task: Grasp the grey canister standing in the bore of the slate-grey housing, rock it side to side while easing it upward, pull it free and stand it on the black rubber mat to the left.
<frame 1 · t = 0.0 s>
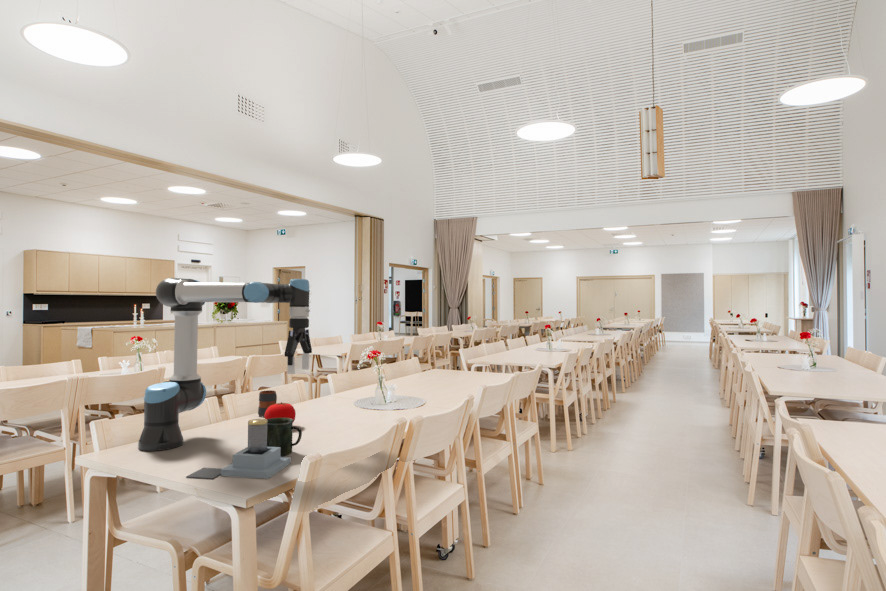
hand: (298, 371, 203), 28 cm above the table, fingers open, 13 cm apart
housing: (257, 469, 169), on the table
mat: (208, 473, 164), on the table
mug: (281, 454, 187), on the table
grey canister: (257, 463, 169), point 2 cm above the table, touching housing
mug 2: (269, 415, 252), on the table
tomato: (280, 427, 227), on the table
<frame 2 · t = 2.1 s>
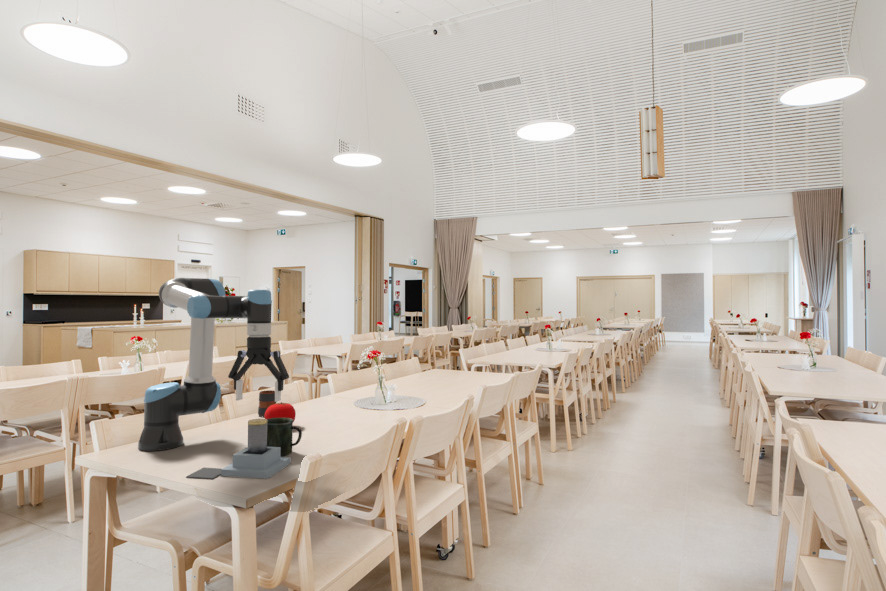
hand: (258, 400, 169), 23 cm above the table, fingers open, 13 cm apart
nothing on the table moved.
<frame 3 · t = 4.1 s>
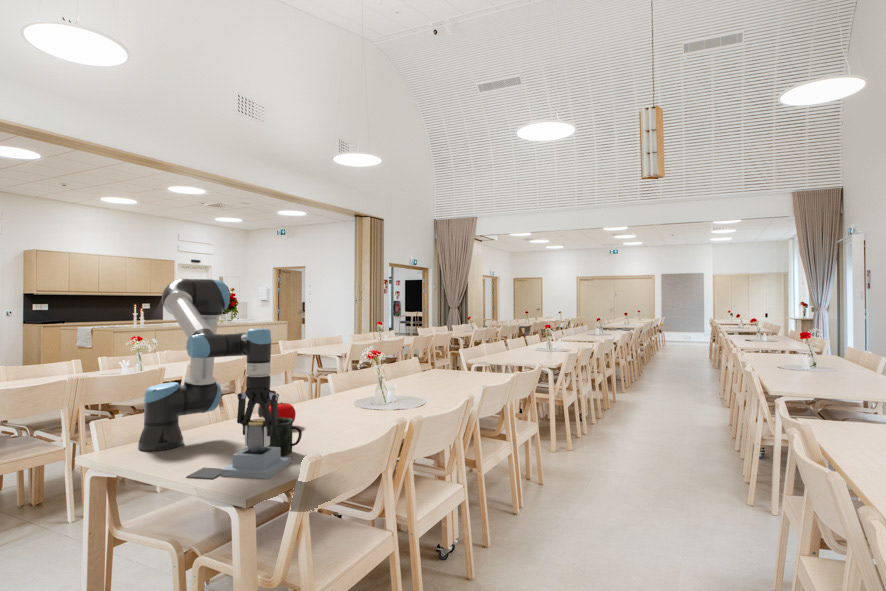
hand: (257, 445, 169), 8 cm above the table, fingers closed on grey canister, 6 cm apart
grey canister: (257, 463, 169), point 2 cm above the table, touching gripper, housing
everything else where it was.
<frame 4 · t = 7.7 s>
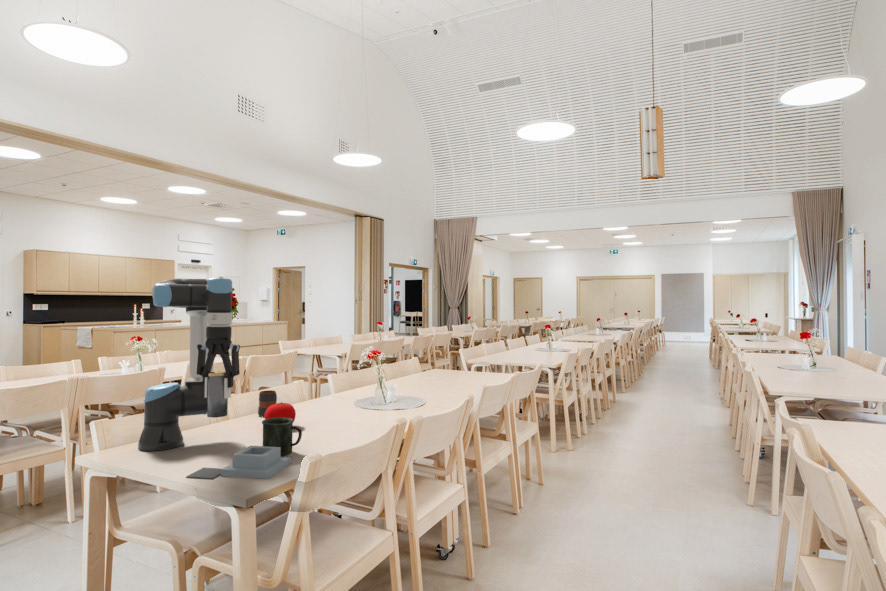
hand: (217, 397, 166), 24 cm above the table, fingers closed on grey canister, 6 cm apart
grey canister: (217, 415, 165), point 18 cm above the table, touching gripper
everything else where it was.
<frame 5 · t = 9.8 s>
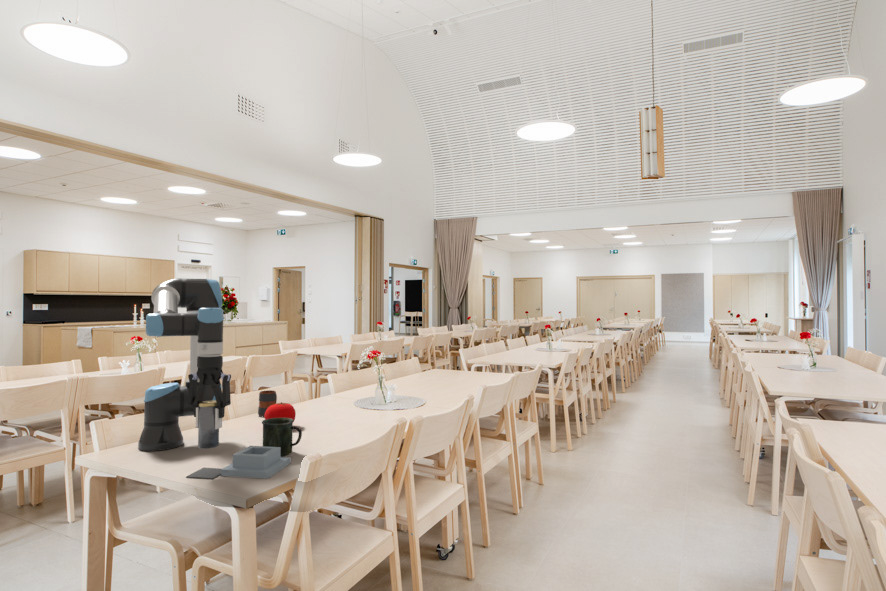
hand: (208, 427, 164), 15 cm above the table, fingers closed on grey canister, 6 cm apart
grey canister: (208, 446, 164), point 9 cm above the table, touching gripper
everything else where it was.
when the fingers open (7 cm above the table, at t = 11.6 s): grey canister stays where it is, resting on mat.
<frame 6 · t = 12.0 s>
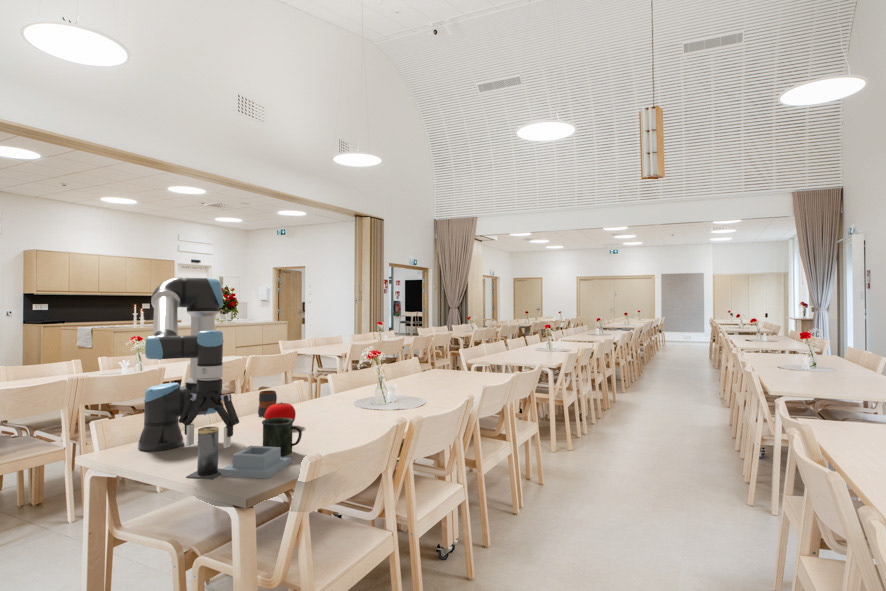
hand: (208, 445, 164), 9 cm above the table, fingers open, 12 cm apart
grey canister: (207, 472, 164), resting on mat
everything else where it was.
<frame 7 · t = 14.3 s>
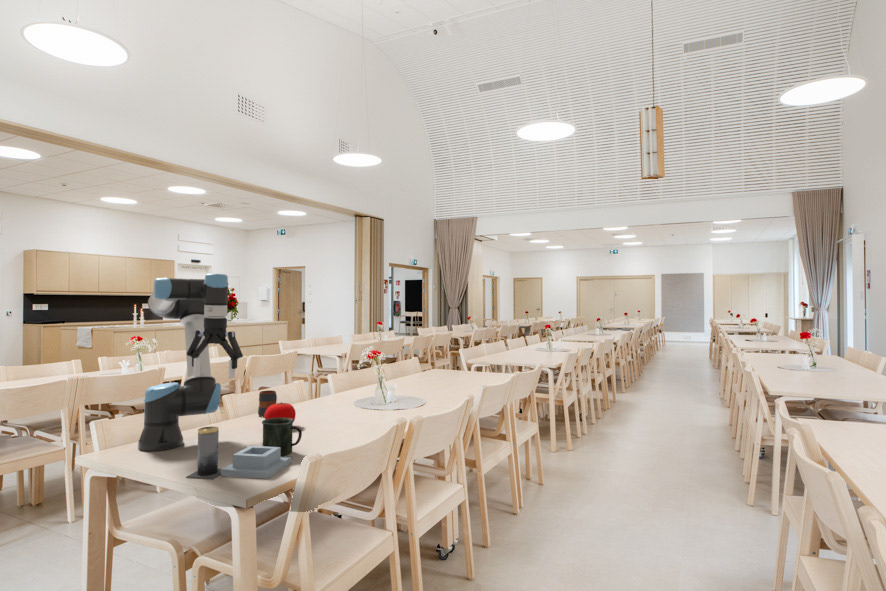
hand: (214, 377, 181), 29 cm above the table, fingers open, 13 cm apart
nothing on the table moved.
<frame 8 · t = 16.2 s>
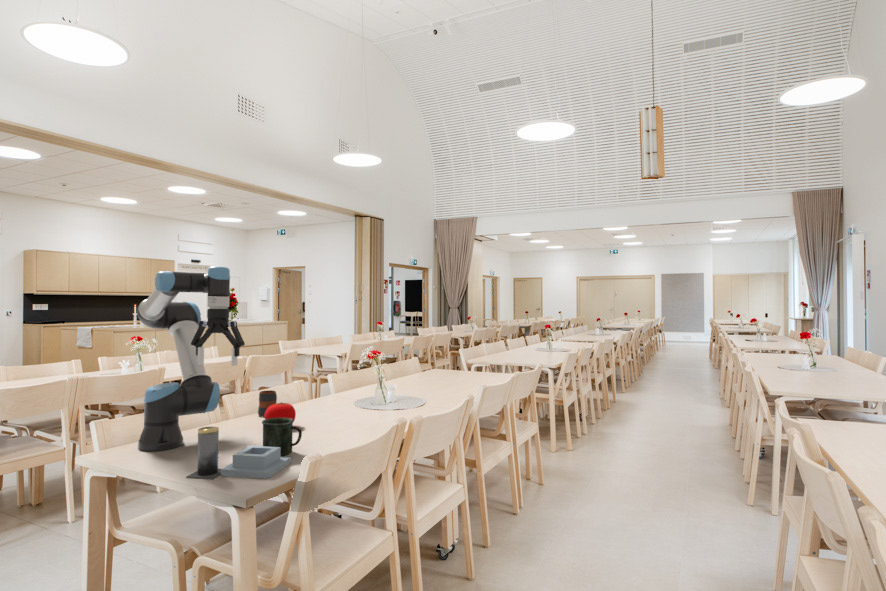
hand: (217, 365, 191), 32 cm above the table, fingers open, 13 cm apart
nothing on the table moved.
at the end: grey canister inside the target area on the mat (0.2 cm from its centre), point 0.4 cm above the mat's base; grey canister tilted 0°; the gripper is holding nothing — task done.
